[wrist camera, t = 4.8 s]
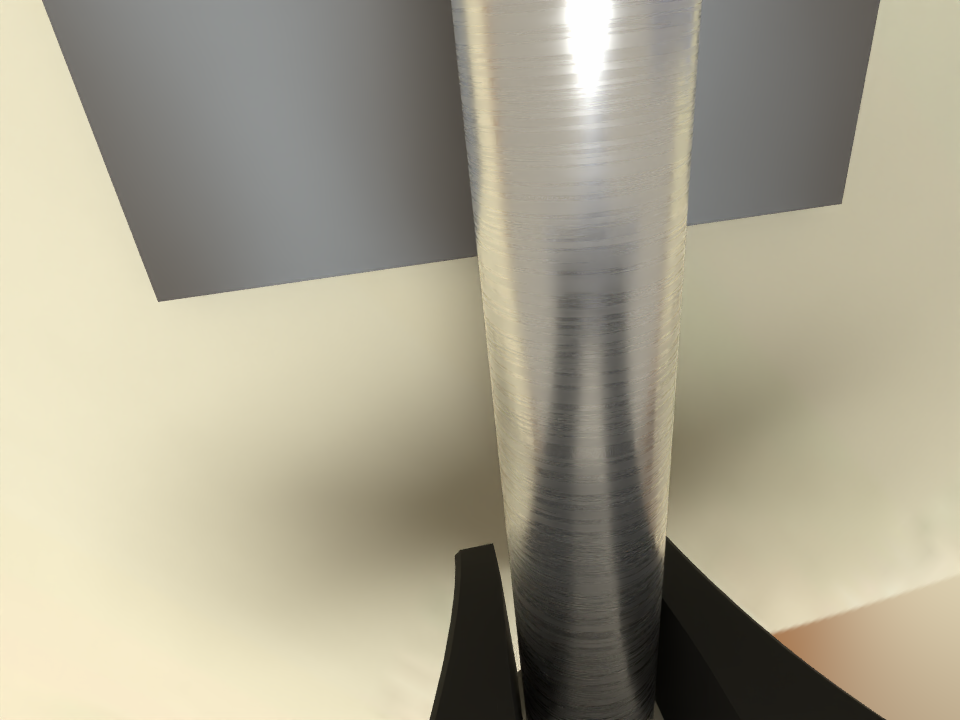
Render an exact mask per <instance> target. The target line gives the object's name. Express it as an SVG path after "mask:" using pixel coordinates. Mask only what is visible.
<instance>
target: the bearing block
mask: <svg viewBox="0 0 960 720" xmlns="http://www.w3.org/2000/svg"><path fill="white" fill-rule="evenodd" d="M42 1H43V4H44V6H45V9H46V12H47V14H48V17H49V19H50V22H51V25H52V27H53V30H54V32H55V35H56V38H57V40H58V43H59V45H60V48H61V51H62V53H63V56H64V58H65V61H66V64H67V66H68V69H69V71H70V74H71V77H72V79H73V82H74V84H75V87H76V90H77V92H78V95H79V97H80V100H81V103H82V105H83V108H84V110H85V113H86V116H87V118H88V121H89V123H90V126H91V129H92V131H93V134H94V136H95V139H96V142H97V144H98V147H99V149H100V152H101V155H102V157H103V160H104V162H105V165H106V168H107V170H108V173H109V175H110V178H111V181H112V183H113V186H114V188H115V191H116V194H117V196H118V199H119V201H120V204H121V207H122V209H123V212H124V214H125V217H126V220H127V222H128V225H129V227H130V230H131V232H132V235H133V238H134V240H135V243H136V245H137V248H138V251H139V253H140V256H141V258H142V261H143V264H144V266H145V269H146V271H147V274H148V277H149V279H150V282H151V284H152V287H153V290H154V292H155V295H156V297H157V300H158V302H160V301H167V300H174V299H181V298H188V297H195V296H202V295H209V294H216V293H223V292H230V291H237V290H244V289H251V288H258V287H265V286H272V285H279V284H286V283H293V282H300V281H307V280H314V279H321V278H328V277H335V276H342V275H349V274H356V273H363V272H370V271H376V270H383V269H390V268H397V267H404V266H411V265H418V264H425V263H432V262H439V261H446V260H453V259H460V258H467V257H474V256H478V254H477V244H476V235H475V225H474V216H473V206H472V197H471V187H470V178H469V168H468V158H467V149H466V139H465V130H464V120H463V111H462V101H461V92H460V82H459V73H458V63H457V53H456V44H455V34H454V25H453V15H452V6H451V0H42ZM879 3H880V0H702V5H701V20H700V34H699V49H698V64H697V79H696V94H695V109H694V124H693V139H692V153H691V168H690V183H689V198H688V213H687V226H690V225H697V224H704V223H711V222H718V221H725V220H732V219H739V218H746V217H753V216H760V215H767V214H774V213H781V212H788V211H795V210H802V209H809V208H816V207H823V206H830V205H837V204H842V198H843V193H844V188H845V183H846V177H847V172H848V167H849V161H850V156H851V151H852V146H853V140H854V135H855V130H856V124H857V119H858V114H859V109H860V103H861V98H862V93H863V88H864V82H865V77H866V72H867V66H868V61H869V56H870V51H871V45H872V40H873V35H874V29H875V24H876V19H877V14H878V8H879Z"/></svg>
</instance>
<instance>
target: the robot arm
mask: <svg viewBox="0 0 960 720" xmlns="http://www.w3.org/2000/svg"><path fill="white" fill-rule="evenodd" d="M655 701H656V703H657V706H658V708H659V710H660V712H661V714H662V716H663V719H664V720H886V719H884V718H882V717H881V716H879V715H878V714H876V713H875V712H874V711H872V710H871V709H869V708H868V707H866V706H865V705H864V704H862V703H861V702H859V701H858V700H856V699H855V698H853V697H852V696H851V695H849V694H848V693H846V692H845V691H844V690H842V689H841V688H839V687H838V686H836V685H835V684H834V683H832V682H831V681H830V680H829V679H827V678H826V677H824V676H823V675H822V674H820V673H819V672H818V671H816V670H815V669H814V668H812V667H811V666H810V665H808V664H807V663H806V662H805V661H803V660H802V659H801V658H799V657H798V656H797V655H795V654H794V653H793V652H792V651H791V650H789V649H788V648H787V647H786V646H784V645H783V644H782V643H781V642H780V641H778V640H777V639H776V638H775V637H774V636H772V635H771V634H770V633H769V632H768V631H766V630H765V629H764V628H763V627H762V626H760V625H759V624H758V623H757V622H756V621H755V620H753V619H752V618H751V617H750V616H749V615H748V614H747V613H745V612H744V611H743V610H742V609H741V608H740V607H739V606H738V605H736V604H735V603H734V602H733V601H732V600H731V599H730V598H729V597H728V596H727V595H726V594H725V593H723V592H722V591H721V590H720V589H719V588H718V587H717V586H716V585H715V584H714V583H713V582H712V581H710V580H709V579H708V578H707V577H706V576H705V575H704V574H703V573H702V572H701V571H700V570H699V569H698V568H697V567H696V566H695V565H694V564H693V563H692V562H691V561H690V560H689V559H688V558H687V557H686V556H685V555H684V554H683V553H682V552H681V551H680V550H679V549H678V548H677V547H676V546H675V545H674V544H673V543H672V542H671V540H670V539H669V538H668V537H667V536H666V540H665V555H664V570H663V585H662V600H661V615H660V630H659V645H658V659H657V674H656V689H655ZM430 720H523V717H522V708H521V700H520V691H519V683H518V674H517V668H516V663H515V657H514V651H513V645H512V639H511V634H510V628H509V622H508V616H507V610H506V605H505V599H504V593H503V587H502V581H501V576H500V572H499V567H498V563H497V558H496V554H495V550H494V546H493V543H492V544H487V545H483V546H478V547H473V548H468V549H463V550H460V551H459V552H458V553H457V554H456V555H455V589H454V600H453V608H452V616H451V623H450V628H449V634H448V639H447V645H446V651H445V656H444V661H443V666H442V671H441V675H440V679H439V683H438V687H437V691H436V696H435V700H434V704H433V708H432V712H431V716H430Z"/></svg>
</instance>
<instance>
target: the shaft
mask: <svg viewBox="0 0 960 720" xmlns="http://www.w3.org/2000/svg"><path fill="white" fill-rule="evenodd" d="M701 5H702V0H451V6H452V15H453V25H454V34H455V44H456V53H457V63H458V73H459V82H460V92H461V101H462V111H463V120H464V130H465V139H466V149H467V158H468V168H469V178H470V187H471V197H472V206H473V216H474V225H475V235H476V244H477V254H478V264H479V273H480V283H481V292H482V302H483V311H484V321H485V330H486V340H487V349H488V359H489V369H490V378H491V388H492V397H493V407H494V416H495V426H496V435H497V445H498V455H499V464H500V474H501V483H502V493H503V502H504V512H505V521H506V531H507V540H508V550H509V560H510V569H511V579H512V588H513V598H514V607H515V617H516V626H517V636H518V646H519V655H520V665H521V670H520V671H518V672H517V674H518V683H519V691H520V700H521V708H522V717H523V720H664V719H663V716H662V714H661V712H660V710H659V708H658V706H657V703H656V701H655V689H656V674H657V659H658V645H659V630H660V615H661V600H662V585H663V570H664V555H665V540H666V526H667V511H668V496H669V481H670V466H671V451H672V436H673V421H674V406H675V392H676V377H677V362H678V347H679V332H680V317H681V302H682V287H683V273H684V258H685V243H686V228H687V213H688V198H689V183H690V168H691V153H692V139H693V124H694V109H695V94H696V79H697V64H698V49H699V34H700V20H701Z"/></svg>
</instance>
